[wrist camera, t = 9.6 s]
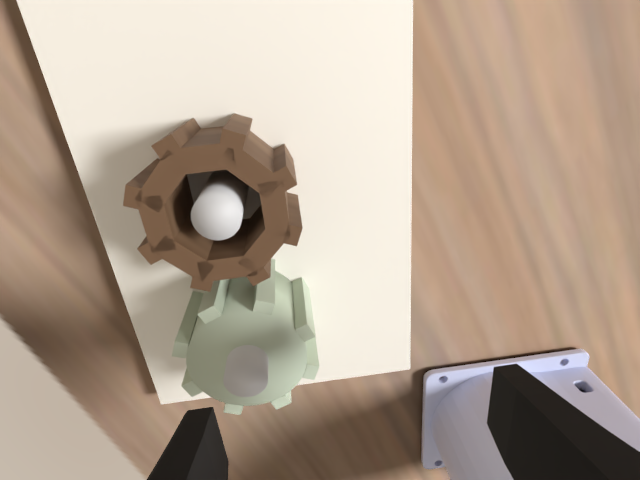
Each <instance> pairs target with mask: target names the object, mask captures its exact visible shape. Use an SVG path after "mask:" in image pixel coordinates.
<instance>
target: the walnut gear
mask: <svg viewBox="0 0 640 480" xmlns="http://www.w3.org/2000/svg"><path fill="white" fill-rule="evenodd" d="M252 120H253V119H252V118H249V117H246V116H242V115H239V114H235V113H234V114H233V115H232V117H231V118H230V119H229V121H228V122H227V123H226V124H225V126H220V127H212V128H203V129H201V128H200V126H199V125H198V123H197V122H196V120H195V119H194V118H192V119H191V120H189V121H187V122H186V123H184V124H182V125H181V126H179V127H177V128H176V129H174V130H173V131H172V132H170V133H169V134H167V135H166V136H165V137H163V138H162V139H160V140H159V141H157V142H156V143H155V144H153V145H152V146H151V147H152V148H153V149H154V151H155V152H156V153H157V155H158V156H159V158H160V159H158V158H157V159H156V160H154V161H153V162H152V163H151V164H150V165H148V166H147V167H146V168H145V169H144V170H143V171H141V172H140V173H139V174H138V175H137V176H135V177H134V178H133V179H132V180H131V181H129V182H128V183H127V184H126V185H125V193H124V201H123V206H125V207H130V208H134V209H138V210H139V213H140V217H141V220H142V223H143V226H144V229H145V233H146V237H145V239H144V240H143V241H142V243H141V244H140V245H139V247H138V248H137V250H138V251H139V252H140V253H141V254H142V255H143V257H144V258H145V259H146V260H147V261H148V263H149V264H150V265H152V264H154V263H156V262H157V261H159V260H161V259H163V260H165V261H166V262H168V263H170V264H172V265H173V266H175V267H177V268H178V269H180V270H182V271H183V272H185V273H187V274H188V275H190V276H192V281H191V286H190V288H193V289H198V290H203V291H208V292H211V288H212V285H213V281H217V280H224V279H232V278H240V277H247V278H248V280H249V281H250V283H251V284H252V285H253V286H255V285H257V284H259V283H261V282H262V281H264V280H266V279H268V278H270V276H271V258H272V257H273V256H274V255H275V253H276V252H277V251H278V250H279V249H280V247H281V246H282V245H283V244H289V245H293V246H297V245H298V241H299V238H300V235H301V232H302V228H303V227H302V220H301V214H300V207H299V200H298V195H296V194H292V193H288V192H287V190H289V189H291V188H292V187H294V186H296V185H297V180H296V173H295V167H294V160H293V158H292V156H291V154H290V152H289V151H288V149H287V147H286V145H285V144H283V145H281V146H279V147H277V148H276V149H273V148H272V147H271V146H269V145H268V144H267V143H266V142H264V141H263V140H262V139H260V138H259V137H258V136H256V135H255V134H254V133H253V132H251V131H250V128H251V124H252ZM218 170H228V171H229V172H230V173H232V174H233V175H235V176H236V177H237V178H239V179H240V180H242V181H243V182H244V183H246V184H247V185H248V186H250V187H251V188H253V189H254V190H255V191H257V192H258V193H259V194H260V200H261V205H260V206H259V207H258V209H257V210H256V211H255V212H254V214H253V215H252V216H251V218H247V219H242V222H241V226H240V228H239V230H238V231H237V232H236V234H234V235H233V236H232V237H230V238H228V239H225V240H211V239H208V238H205V237H204V236H202V235H201V234H199V233H198V232H197V231H196V229H195V228H194V226H193V224H192V221H191V210H192V207H193V205H194V202H193V198H192V194H191V190H190V186H189V182H188V178H187V174H193V173H201V172H209V171H218Z"/></svg>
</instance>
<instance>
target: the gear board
mask: <svg viewBox="0 0 640 480" xmlns="http://www.w3.org/2000/svg"><path fill="white" fill-rule="evenodd" d="M17 3H18V6H19V9H20V12H21V14H22V17H23V20H24V23H25V26H26V28H27V31H28V34H29V37H30V39H31V42H32V45H33V48H34V51H35V53H36V56H37V59H38V62H39V65H40V67H41V70H42V73H43V76H44V79H45V81H46V84H47V87H48V90H49V92H50V95H51V98H52V101H53V104H54V106H55V109H56V112H57V115H58V118H59V120H60V123H61V126H62V129H63V132H64V134H65V137H66V140H67V143H68V146H69V148H70V151H71V154H72V157H73V159H74V162H75V165H76V168H77V171H78V173H79V176H80V179H81V182H82V185H83V187H84V190H85V193H86V196H87V199H88V201H89V204H90V207H91V210H92V212H93V215H94V218H95V221H96V224H97V226H98V229H99V232H100V235H101V238H102V240H103V243H104V246H105V249H106V252H107V254H108V257H109V260H110V263H111V266H112V268H113V271H114V274H115V277H116V279H117V282H118V285H119V288H120V291H121V293H122V296H123V299H124V302H125V305H126V307H127V310H128V313H129V316H130V319H131V321H132V324H133V327H134V330H135V332H136V335H137V338H138V341H139V344H140V346H141V349H142V352H143V355H144V358H145V360H146V363H147V366H148V369H149V372H150V374H151V377H152V380H153V383H154V386H155V388H156V391H157V394H158V397H159V399H160V402H161V404H168V403H175V402H182V401H189V400H196V399H203V398H210V397H212V398H214V399H216V400H219V401H221V402H224V403H225V407H224V413H231V414H238V415H241V412H242V409H243V406H251V405H259V404H264V403H268V402H271V403H272V405H273V406H274V407H275V408H276V409H279V408H281V407H283V406H286V405H288V404H290V403H291V390H292V389H293V388H294V387H295V386H296V385H302V384H309V383H316V382H323V381H330V380H337V379H345V378H352V377H359V376H366V375H373V374H380V373H387V372H394V371H401V370H408V369H410V330H411V197H412V63H413V0H17ZM234 113H235V114H239V115H242V116H246V117H249V118H252V119H253V120H252V124H251V128H250V131H251V132H253V133H254V134H255V135H256V136H258V137H259V138H260V139H262V140H263V141H264V142H266V143H267V144H268V145H269V146H271V147H272V148H273V149H276V148H277V147H279V146H281V145H283V144H285V145H286V147H287V149H288V151H289V152H290V154H291V156H292V158H293V160H294V167H295V173H296V180H297V185H296V186H294V187H292V188H291V189H289V190H287V192H288V193H292V194H296V195H298V200H299V207H300V214H301V220H302V227H303V228H302V232H301V235H300V238H299V241H298V245H297V246H293V245H289V244H283V245H282V246H281V247H280V249H279V250H278V251H277V252H276V253H275V255H274V256H273V257H272V258H271V276H270V278H268V279H266V280H264V281H262V282H261V283H259V284H257V285H255V286H253V285H252V284H251V283H250V281H249V280H248V278H247V277H240V278H232V279H224V280H217V281H213V285H212V288H211V292H208V291H203V290H198V289H193V288H190V286H191V281H192V276H190V275H188V274H187V273H185V272H183V271H182V270H180V269H178V268H177V267H175V266H173V265H172V264H170V263H168V262H166V261H165V260H163V259H161V260H159V261H157V262H156V263H154V264H152V265H150V264H149V263H148V261H147V260H146V259H145V258H144V257H143V255H142V254H141V253H140V252H139V251H138V250H137V248H138V247H139V245H140V244H141V243H142V241H143V240H144V239H145V237H146V233H145V229H144V226H143V223H142V220H141V217H140V213H139V210H138V209H134V208H130V207H125V206H123V201H124V193H125V185H126V184H127V183H128V182H129V181H131V180H132V179H133V178H134V177H135V176H137V175H138V174H139V173H140V172H141V171H143V170H144V169H145V168H146V167H147V166H148V165H150V164H151V163H152V162H153V161H154V160H156V159H157V158H158V159H160V158H159V156H158V155H157V153H156V152H155V151H154V149H153V148H152V147H151V146H152V145H153V144H155V143H156V142H157V141H159V140H160V139H162V138H163V137H165V136H166V135H167V134H169V133H170V132H172V131H173V130H174V129H176V128H177V127H179V126H181V125H182V124H184V123H186V122H187V121H189V120H191V119H192V118H194V119H195V120H196V122H197V123H198V125H199V126H200V128H201V129H203V128H212V127H220V126H225V124H226V123H227V122H228V121H229V119H230V118H231V117H232V115H233V114H234ZM187 178H188V182H189V186H190V190H191V194H192V198H193V202H194V205H193V207H192V210H191V221H192V224H193V226H194V228H195V229H196V231H197V232H198V233H199V234H201V235H202V236H204V237H205V238H208V239H211V240H225V239H228V238H230V237H232V236H233V235H234V234H236V232H237V231H238V230H239V228H240V226H241V222H242V219H247V218H251V216H252V215H253V214H254V212H255V211H256V210H257V209H258V207H259V206H260V205H261V200H260V194H259V193H258V192H257V191H255V190H254V189H253V188H251V187H250V186H248V185H247V184H246V183H244V182H243V181H242V180H240V179H239V178H237V177H236V176H235V175H233V174H232V173H230V172H229V171H228V170H218V171H209V172H201V173H193V174H187Z"/></svg>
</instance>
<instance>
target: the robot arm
mask: <svg viewBox="0 0 640 480" xmlns="http://www.w3.org/2000/svg"><path fill="white" fill-rule="evenodd" d="M588 361H589V355H588V353H587V352H586V351H585V350H583V349H574V350H567V351H560V352H553V353H546V354H539V355H532V356H525V357H518V358H511V359H504V360H497V361H490V362H483V363H475V364H468V365H461V366H454V367H447V368H440V369H433V370H429V371H428V372H426V373H425V375H424V378H423V414H422V452H421V461H422V464H423V467H424V468H426V469H435V468H441V467H445V468H446V470H447V472H448V475H449V477H450V480H640V419H639V418H638V417H637V416H636V415H635V414H634V413H633V412H632V411H631V410H630V409H629V408H628V407H627V406H626V405H625V404H624V403H623V402H622V401H621V400H620V399H619V398H618V397H617V396H616V395H615V394H614V393H613V392H612V391H611V390H610V389H609V388H608V387H607V386H606V385H605V384H604V383H603V382H602V381H601V380H600V379H599V378H598V377H597V376H596V375H595V374H594V373H593V372H592V371H591V370H590V369H589V368H588V367H587V365H588ZM442 376H444V377H442ZM440 377H442V378H440ZM147 480H228V458H227V455H226V451H225V448H224V444H223V441H222V437H221V434H220V430H219V427H218V423H217V420H216V416H215V413H214V409H213V407H209V408H202V409H195V410H188V411H187V413H186V414H185V415H184V417H183V419H182V420H181V422H180V424H179V426H178V428H177V429H176V431H175V433H174V435H173V437H172V438H171V440H170V442H169V444H168V445H167V447H166V449H165V450H164V452H163V454H162V455H161V457H160V459H159V461H158V462H157V464H156V466H155V467H154V469H153V471H152V472H151V474H150V475H149V477H148V479H147Z"/></svg>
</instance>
